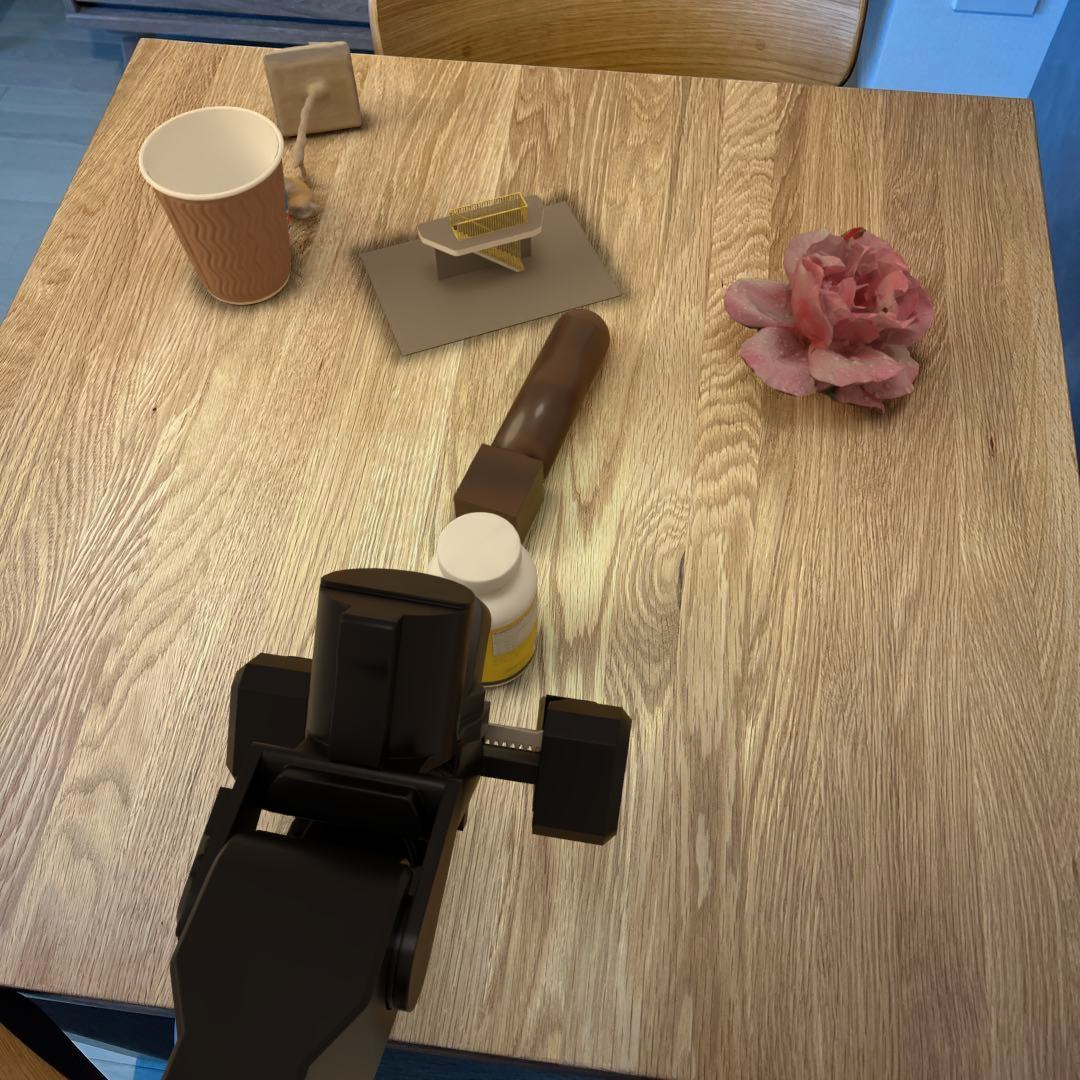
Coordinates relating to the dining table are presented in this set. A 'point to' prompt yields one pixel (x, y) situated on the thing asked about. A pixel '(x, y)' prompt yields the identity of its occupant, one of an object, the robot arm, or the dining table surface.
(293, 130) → the decorative sculpture
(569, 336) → the walnut leg
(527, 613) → the pill bottle
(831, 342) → the flower
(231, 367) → the dining table surface
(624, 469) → the dining table surface
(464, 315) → the platform
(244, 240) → the coffee cup
